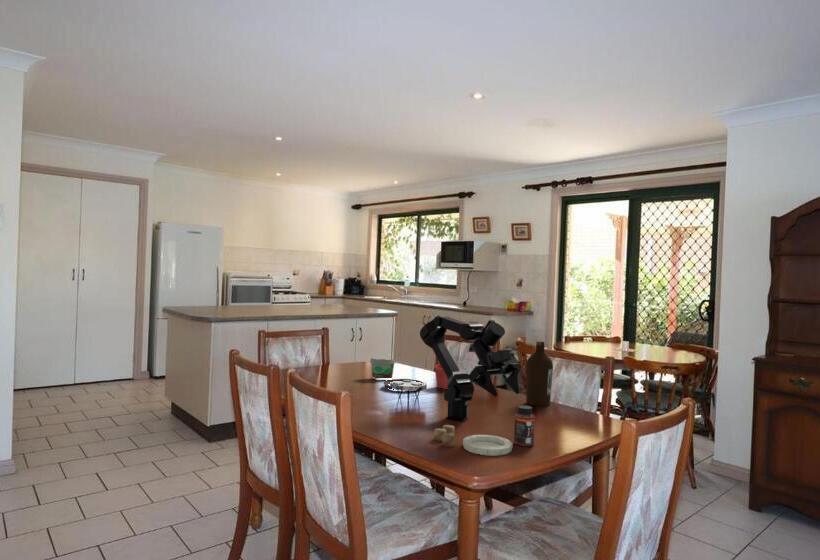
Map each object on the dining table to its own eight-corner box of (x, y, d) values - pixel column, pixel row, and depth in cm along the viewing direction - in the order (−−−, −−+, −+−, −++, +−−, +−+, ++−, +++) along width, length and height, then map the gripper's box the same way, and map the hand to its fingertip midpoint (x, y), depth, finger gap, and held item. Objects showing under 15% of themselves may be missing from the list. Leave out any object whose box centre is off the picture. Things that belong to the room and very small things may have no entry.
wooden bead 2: (441, 436, 170) (441, 427, 170) (444, 433, 174) (445, 424, 174) (452, 438, 169) (452, 428, 169) (455, 435, 172) (455, 425, 172)
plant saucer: (392, 394, 229) (392, 387, 229) (377, 386, 245) (377, 379, 245) (430, 392, 236) (430, 385, 236) (413, 384, 252) (413, 377, 252)
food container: (366, 380, 257) (367, 359, 257) (369, 378, 263) (370, 357, 263) (392, 382, 255) (393, 360, 255) (395, 379, 261) (395, 358, 261)
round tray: (457, 451, 157) (457, 444, 157) (470, 438, 170) (471, 432, 170) (505, 458, 151) (506, 452, 151) (515, 444, 164) (516, 438, 164)
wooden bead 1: (434, 441, 165) (434, 431, 165) (434, 437, 169) (434, 428, 169) (446, 441, 165) (446, 432, 165) (445, 438, 169) (446, 428, 169)
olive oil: (523, 404, 217) (525, 342, 217) (526, 399, 227) (528, 339, 227) (550, 407, 214) (553, 343, 214) (552, 402, 224) (555, 341, 224)
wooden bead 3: (445, 447, 160) (445, 437, 160) (440, 443, 163) (440, 433, 163) (456, 446, 161) (456, 436, 161) (451, 443, 164) (452, 433, 164)
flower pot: (459, 391, 240) (460, 368, 240) (434, 390, 240) (435, 367, 240) (457, 386, 251) (458, 364, 250) (434, 385, 251) (434, 364, 251)
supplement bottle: (534, 448, 162) (535, 410, 162) (513, 446, 163) (515, 408, 163) (533, 442, 168) (535, 405, 168) (513, 440, 169) (515, 403, 169)
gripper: (475, 340, 171) (498, 382, 162) (519, 338, 181) (542, 377, 172) (459, 362, 178) (480, 403, 169) (502, 358, 188) (524, 397, 179)
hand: (507, 394), depth 172 cm, fingers open, 9 cm apart
